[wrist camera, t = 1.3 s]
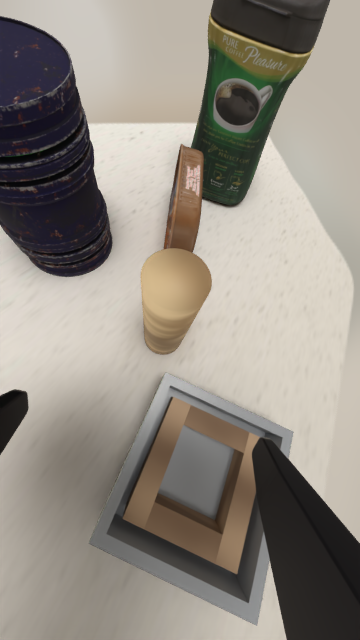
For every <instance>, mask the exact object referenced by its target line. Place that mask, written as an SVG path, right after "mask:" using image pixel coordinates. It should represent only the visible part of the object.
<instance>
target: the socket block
mask: <svg viewBox="0 0 360 640" xmlns="http://www.w3.org/2000/svg"><path fill="white" fill-rule="evenodd" d="M183 425H185V426H187V427H189V428H191V429H193V430H196V431H198V432H200V433H202V434H204V435H206V436H208V437H210V438H212V439H215V440H217V441H219V442H221V443H223V444H225V445H227V446H229V447H232V448H234V449H235V450H234V454H233V457H232V461H231V464H230V468H229V472H228V475H227V479H226V482H225V486H224V489H223V493H222V497H221V500H220V504H219V507H218V511H217V515H216V518H215V520H213V519H211V518H209V517H207V516H205V515H203V514H201V513H199V512H197V511H195V510H193V509H190V508H188V507H186V506H184V505H182V504H180V503H178V502H176V501H174V500H172V499H170V498H168V497H166V496H163V495H161V494H159V493H158V491H159V488H160V485H161V483H162V480H163V478H164V475H165V472H166V470H167V467H168V464H169V462H170V459H171V456H172V454H173V451H174V449H175V446H176V443H177V441H178V438H179V435H180V433H181V430H182V427H183ZM259 438H260V437H258V436H256V435H254V434H252V433H250V432H248V431H246V430H243V429H241V428H239V427H237V426H235V425H233V424H231V423H229V422H226V421H224V420H222V419H220V418H218V417H216V416H214V415H211V414H209V413H207V412H205V411H203V410H201V409H199V408H197V407H194V406H192V405H190V404H188V403H186V402H184V401H182V400H180V399H177V398H175V397H171V398H170V401H169V403H168V406H167V408H166V410H165V413H164V415H163V417H162V420H161V422H160V425H159V427H158V429H157V432H156V434H155V436H154V439H153V441H152V444H151V446H150V448H149V451H148V453H147V455H146V458H145V460H144V463H143V465H142V467H141V470H140V472H139V474H138V477H137V479H136V482H135V484H134V486H133V489H132V491H131V493H130V496H129V498H128V501H127V503H126V505H125V509H124V514H123V519H124V520H126V521H128V522H130V523H132V524H134V525H136V526H138V527H140V528H142V529H144V530H146V531H148V532H150V533H153V534H155V535H157V536H159V537H161V538H163V539H165V540H167V541H169V542H171V543H173V544H175V545H177V546H179V547H181V548H183V549H186V550H188V551H190V552H192V553H194V554H196V555H198V556H200V557H202V558H204V559H206V560H208V561H210V562H212V563H214V564H216V565H218V566H221V567H223V568H225V569H227V570H229V571H231V572H233V573H235V574H237V572H238V568H239V563H240V559H241V555H242V550H243V546H244V542H245V537H246V533H247V528H248V524H249V520H250V515H251V511H252V507H253V502H254V498H255V494H256V486H255V478H254V469H253V461H252V450H253V448H254V446H255V445H256V443H257V441H258V439H259Z"/></svg>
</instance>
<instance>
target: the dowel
mask: <svg viewBox="0 0 360 640" xmlns="http://www.w3.org/2000/svg"><path fill="white" fill-rule="evenodd" d="M211 284H212V279H211V274H210V271H209V269H208V267H207V265H206V264H205V263H204V262H203V260H202V259H200V258H199V257H198V256H197V255H195V254H193V253H192V252H189V251H187V250H183V249H177V248H169V249H164V250H161V251H158V252H156V253H154V254H153V255H151V256H150V257H149V258H148V259H147V260H146V262H145V263H144V265H143V267H142V271H141V290H142V305H143V320H144V335H145V342H146V344H147V346H148V347H149V349H150V350H152V351H153V352H155V353H157V354H163V355H164V354H169V353H172V352H174V351H175V350H176V349H177V348H178V347H179V345H180V343H181V341H182V340H183V338H184V336H185V334H186V333H187V331H188V329H189V327H190V326H191V324H192V322H193V320H194V319H195V317H196V315H197V314H198V312H199V310H200V308H201V307H202V305H203V303H204V301H205V300H206V298H207V296H208V294H209V292H210V290H211Z"/></svg>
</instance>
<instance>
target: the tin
mask: <svg viewBox="0 0 360 640" xmlns="http://www.w3.org/2000/svg"><path fill="white" fill-rule="evenodd" d="M203 165H204V157H203V153H202V152H201V151H199V150H196V149H192V148H189V147H186V146H184V145H183V144H181V146H180V150H179V155H178V160H177V165H176V170H175V176H174V182H173V188H172V193H171V198H170V205H169V213H168V220H167V228H166V236H165V243H164V249H169V248H177V249H183V250H187V251H189V252H193V250H194V246H195V242H196V238H197V233H198V229H199V223H200V216H201V204H202V188H203Z"/></svg>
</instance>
